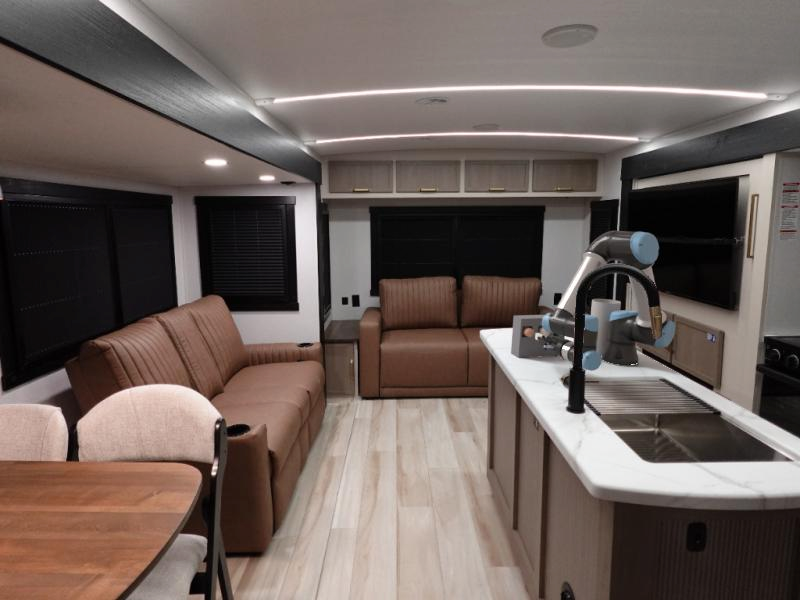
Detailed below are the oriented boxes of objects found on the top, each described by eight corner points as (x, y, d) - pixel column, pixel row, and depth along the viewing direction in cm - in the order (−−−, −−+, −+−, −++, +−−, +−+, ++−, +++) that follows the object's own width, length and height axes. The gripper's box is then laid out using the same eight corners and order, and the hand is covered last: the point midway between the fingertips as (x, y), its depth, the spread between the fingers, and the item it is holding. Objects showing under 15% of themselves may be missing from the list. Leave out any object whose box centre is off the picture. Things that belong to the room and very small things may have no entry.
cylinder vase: (612, 357, 227) (618, 304, 222) (584, 353, 234) (589, 301, 229) (617, 352, 237) (623, 301, 233) (590, 347, 244) (595, 298, 240)
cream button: (545, 334, 225) (545, 326, 225) (550, 336, 221) (550, 328, 221) (537, 334, 224) (538, 326, 224) (542, 336, 220) (543, 328, 220)
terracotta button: (529, 335, 223) (530, 326, 222) (534, 337, 219) (534, 328, 219) (522, 335, 222) (522, 327, 221) (526, 337, 218) (527, 329, 218)
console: (554, 351, 235) (557, 314, 232) (563, 355, 229) (566, 317, 226) (511, 353, 229) (513, 315, 226) (518, 357, 222) (521, 318, 219)
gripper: (553, 360, 190) (522, 345, 212) (582, 359, 194) (549, 343, 216) (555, 341, 189) (523, 328, 211) (584, 340, 192) (550, 327, 215)
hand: (536, 336), depth 214 cm, fingers closed
